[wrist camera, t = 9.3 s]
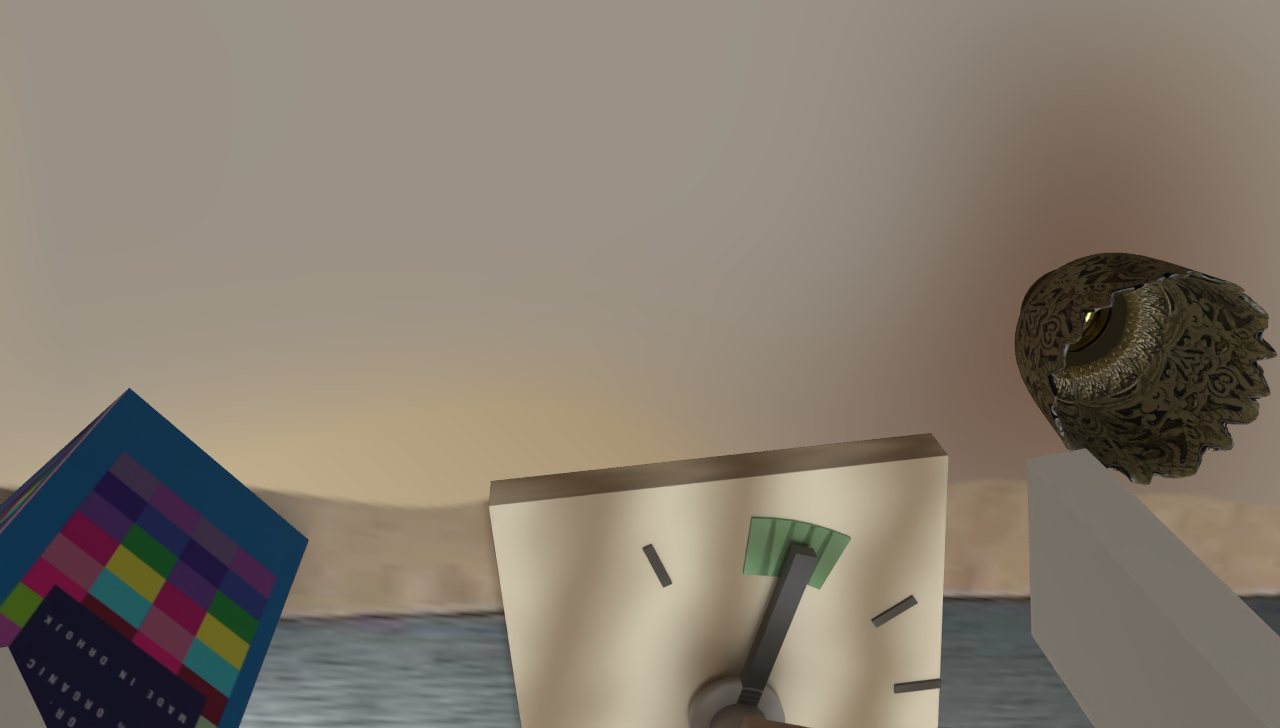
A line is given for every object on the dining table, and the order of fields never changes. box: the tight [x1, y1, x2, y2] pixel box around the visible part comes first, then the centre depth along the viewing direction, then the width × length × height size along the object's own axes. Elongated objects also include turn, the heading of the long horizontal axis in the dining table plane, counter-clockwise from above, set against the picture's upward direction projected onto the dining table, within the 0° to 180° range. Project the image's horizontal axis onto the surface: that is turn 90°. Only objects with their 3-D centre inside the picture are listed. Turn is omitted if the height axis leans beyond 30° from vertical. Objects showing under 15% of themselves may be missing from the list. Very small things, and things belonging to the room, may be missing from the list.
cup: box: [1015, 253, 1277, 485], centre depth 39 cm, size 8×7×8 cm
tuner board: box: [489, 433, 948, 728], centre depth 47 cm, size 18×22×2 cm
